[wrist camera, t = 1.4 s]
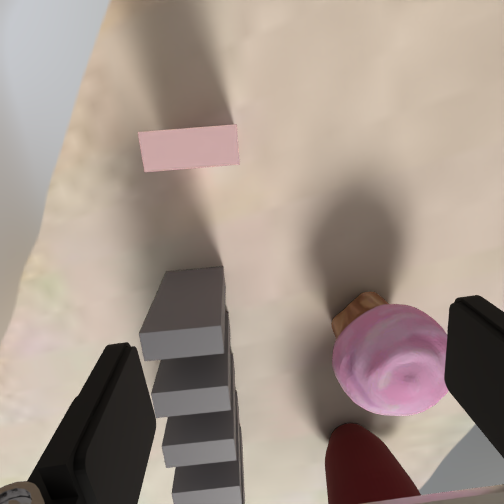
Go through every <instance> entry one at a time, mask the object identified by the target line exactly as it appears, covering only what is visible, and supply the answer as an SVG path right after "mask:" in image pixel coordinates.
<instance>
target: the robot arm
mask: <svg viewBox="0 0 504 504" xmlns="http://www.w3.org/2000/svg"><path fill="white" fill-rule="evenodd" d="M444 380H445V384H446V387H447V389H448V390H449V392H450V393H451V394H452V395H453V397H454V398H455V399H456V400H457V401H458V403H459V404H460V405H461V406H462V408H463V409H464V410H465V411H466V412H467V414H468V415H469V416H470V417H471V419H472V420H473V421H474V422H475V424H476V425H477V426H478V427H479V428H480V430H481V431H482V432H483V433H484V435H485V436H486V437H487V438H488V439H489V441H490V442H491V443H492V444H493V446H494V447H495V448H496V449H497V450H498V452H499V453H500V454H501V455H502V457H503V458H504V312H503V311H501V310H500V309H499V308H497V307H496V306H494V305H493V304H491V303H490V302H488V301H487V300H486V299H484V298H483V297H481V296H479V295H475V296H467V297H460V298H457V299H456V300H455V302H454V303H452V304H451V305H450V308H449V321H448V334H447V347H446V360H445V373H444ZM155 430H156V418H155V414H154V410H153V406H152V403H151V399H150V395H149V392H148V388H147V384H146V381H145V377H144V373H143V370H142V366H141V362H140V359H139V355H138V351H137V349H136V347H135V346H133V347H131V346H130V344H129V343H127V342H125V343H118V344H111V345H107V346H106V347H105V349H104V351H103V353H102V354H101V356H100V358H99V360H98V361H97V363H96V365H95V367H94V369H93V370H92V372H91V374H90V376H89V377H88V379H87V381H86V383H85V385H84V386H83V388H82V390H81V392H80V393H79V395H78V396H77V397H76V398H75V399H74V400H73V402H72V404H71V405H70V407H69V409H68V411H67V412H66V414H65V416H64V418H63V419H62V421H61V423H60V425H59V426H58V428H57V430H56V432H55V433H54V435H53V437H52V439H51V440H50V442H49V444H48V446H47V447H46V449H45V451H44V453H43V454H42V456H41V458H40V460H39V461H38V463H37V465H36V467H35V468H34V470H33V472H32V474H31V475H30V477H29V479H28V481H23V482H15V483H12V484H9V485H6V486H4V487H2V488H0V504H137V503H138V499H139V495H140V491H141V487H142V483H143V479H144V475H145V471H146V467H147V463H148V459H149V455H150V451H151V447H152V443H153V439H154V435H155ZM363 504H504V484H502V485H495V486H488V487H480V488H472V489H465V490H457V491H450V492H442V493H435V494H428V495H420V496H413V497H406V498H399V499H391V500H384V501H377V502H370V503H363Z"/></svg>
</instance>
